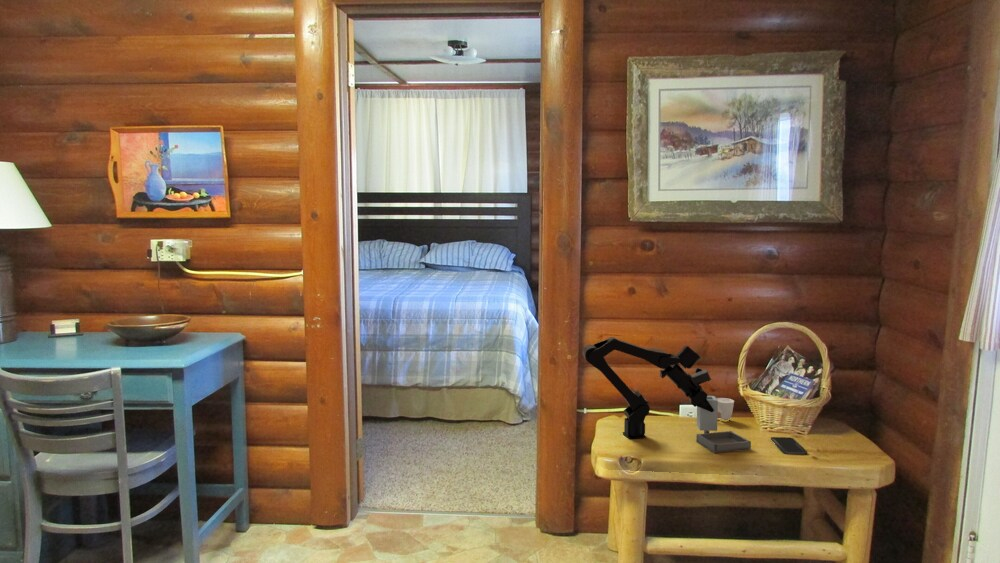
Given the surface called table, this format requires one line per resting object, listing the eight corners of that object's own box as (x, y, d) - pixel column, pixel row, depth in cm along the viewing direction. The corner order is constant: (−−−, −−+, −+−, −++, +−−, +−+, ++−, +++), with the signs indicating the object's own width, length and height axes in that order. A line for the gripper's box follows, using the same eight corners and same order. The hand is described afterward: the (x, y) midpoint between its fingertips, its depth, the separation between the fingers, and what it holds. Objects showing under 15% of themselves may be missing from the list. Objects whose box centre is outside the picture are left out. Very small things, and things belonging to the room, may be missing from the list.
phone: (783, 452, 215) (769, 436, 230) (783, 455, 215) (769, 440, 230) (808, 452, 214) (793, 437, 229) (808, 456, 214) (792, 440, 229)
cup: (735, 423, 247) (736, 403, 247) (708, 422, 249) (708, 402, 248) (732, 418, 254) (732, 398, 254) (705, 417, 256) (706, 397, 255)
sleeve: (699, 430, 231) (700, 400, 230) (696, 425, 237) (697, 395, 236) (721, 430, 230) (722, 400, 229) (718, 425, 236) (718, 396, 235)
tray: (714, 453, 216) (714, 445, 216) (696, 442, 228) (696, 434, 227) (750, 449, 219) (750, 441, 219) (730, 438, 231) (731, 430, 230)
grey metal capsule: (705, 437, 233) (705, 428, 232) (703, 435, 234) (703, 427, 234) (710, 436, 233) (710, 428, 233) (707, 435, 235) (707, 426, 234)
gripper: (701, 368, 222) (734, 400, 222) (692, 357, 241) (722, 386, 241) (678, 390, 224) (710, 422, 224) (670, 377, 242) (699, 407, 242)
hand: (711, 408), depth 233 cm, fingers closed on sleeve, 6 cm apart
